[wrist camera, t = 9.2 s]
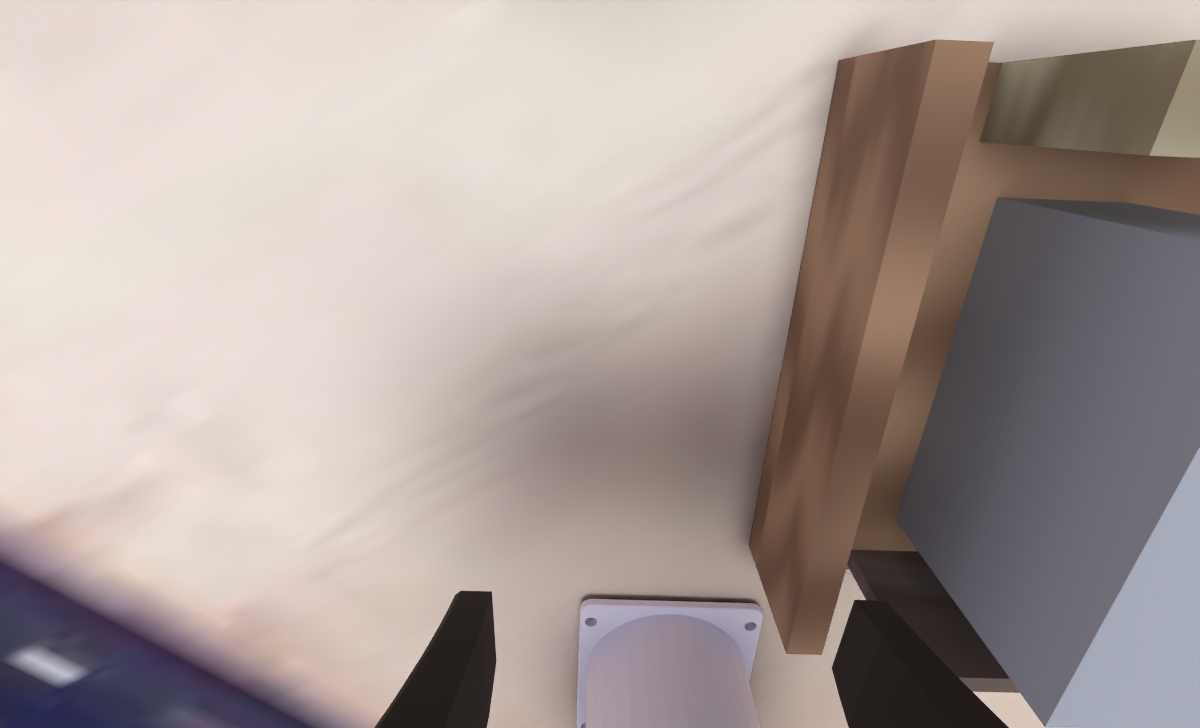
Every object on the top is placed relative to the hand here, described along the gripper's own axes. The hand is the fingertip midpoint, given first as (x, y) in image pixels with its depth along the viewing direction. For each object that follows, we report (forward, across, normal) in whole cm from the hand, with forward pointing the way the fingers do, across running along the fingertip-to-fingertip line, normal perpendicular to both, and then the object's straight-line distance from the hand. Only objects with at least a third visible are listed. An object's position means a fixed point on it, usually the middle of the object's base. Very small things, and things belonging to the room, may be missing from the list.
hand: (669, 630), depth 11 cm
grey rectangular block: (+9, -12, -1) cm, 15 cm away
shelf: (+10, -12, -2) cm, 16 cm away
